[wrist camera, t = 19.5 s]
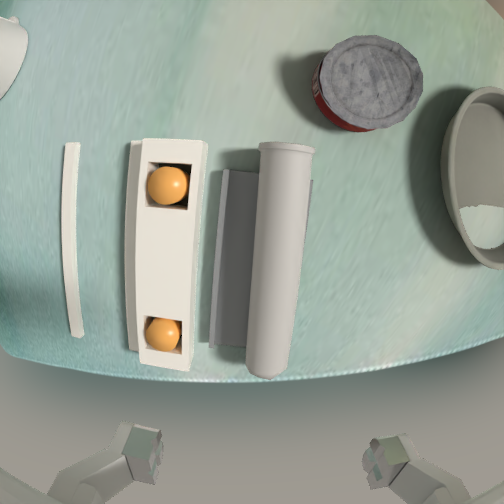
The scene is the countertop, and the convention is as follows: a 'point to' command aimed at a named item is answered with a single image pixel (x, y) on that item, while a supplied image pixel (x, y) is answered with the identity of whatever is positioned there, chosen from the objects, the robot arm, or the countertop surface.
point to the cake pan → (475, 163)
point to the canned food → (367, 83)
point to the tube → (277, 254)
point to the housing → (147, 247)
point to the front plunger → (169, 185)
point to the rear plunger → (164, 333)
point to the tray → (235, 258)
